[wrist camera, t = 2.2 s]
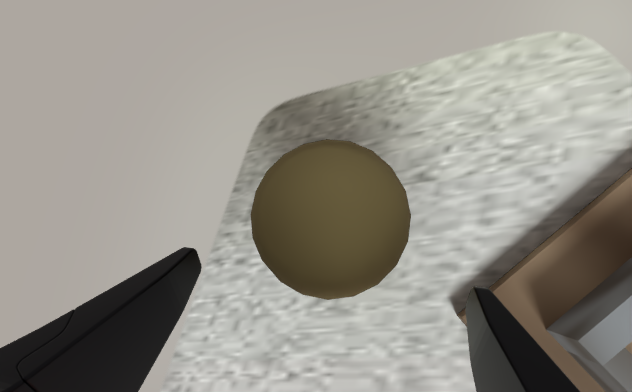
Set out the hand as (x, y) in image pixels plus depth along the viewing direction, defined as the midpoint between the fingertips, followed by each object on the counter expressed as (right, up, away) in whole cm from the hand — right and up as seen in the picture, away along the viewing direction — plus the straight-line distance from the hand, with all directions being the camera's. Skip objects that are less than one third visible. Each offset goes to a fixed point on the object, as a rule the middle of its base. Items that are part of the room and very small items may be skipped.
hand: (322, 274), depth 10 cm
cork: (+2, 0, +9) cm, 10 cm away
